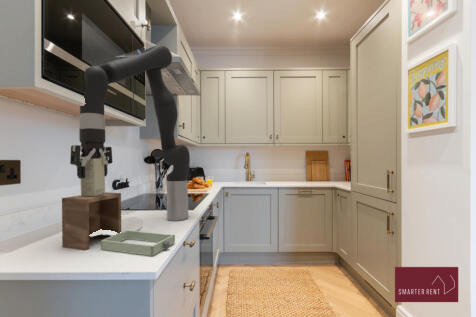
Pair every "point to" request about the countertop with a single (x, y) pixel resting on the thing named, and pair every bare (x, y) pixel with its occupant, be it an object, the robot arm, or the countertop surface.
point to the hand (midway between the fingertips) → (93, 177)
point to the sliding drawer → (116, 245)
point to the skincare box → (93, 178)
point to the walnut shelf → (89, 218)
